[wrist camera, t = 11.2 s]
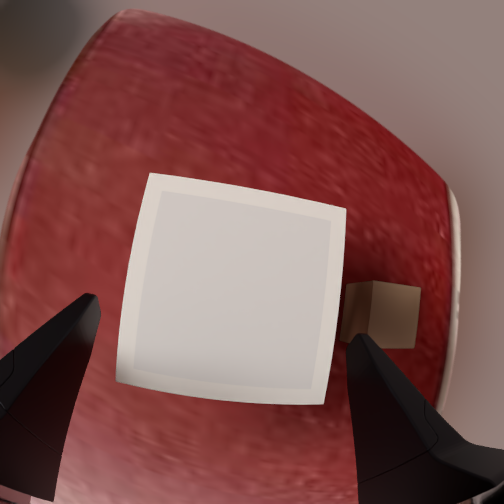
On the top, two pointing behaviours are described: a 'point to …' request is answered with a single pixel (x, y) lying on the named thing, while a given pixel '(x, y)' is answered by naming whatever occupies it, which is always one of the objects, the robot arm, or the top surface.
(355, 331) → the walnut block
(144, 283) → the white notched block
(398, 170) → the top surface
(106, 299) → the top surface
